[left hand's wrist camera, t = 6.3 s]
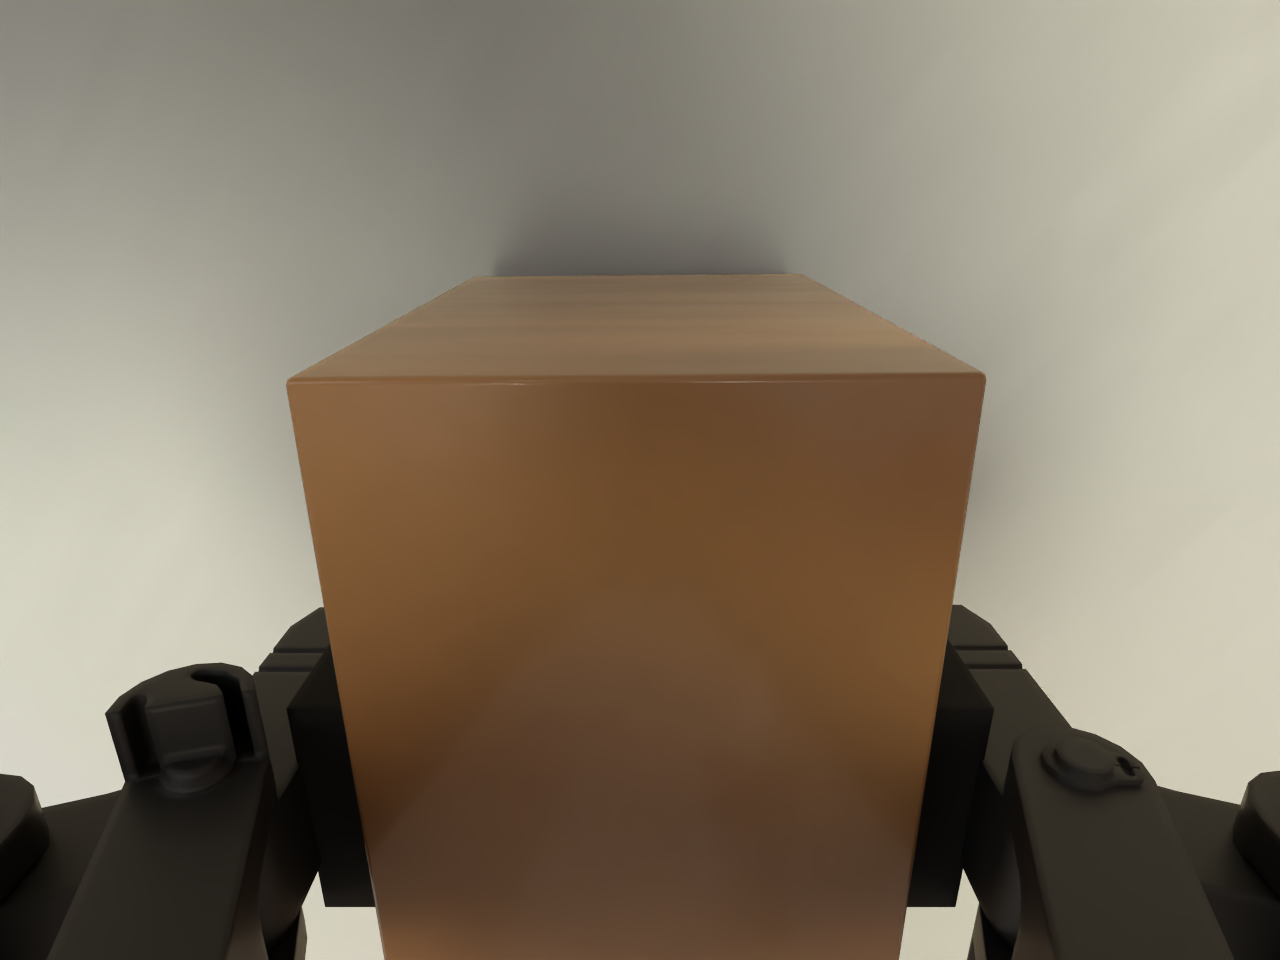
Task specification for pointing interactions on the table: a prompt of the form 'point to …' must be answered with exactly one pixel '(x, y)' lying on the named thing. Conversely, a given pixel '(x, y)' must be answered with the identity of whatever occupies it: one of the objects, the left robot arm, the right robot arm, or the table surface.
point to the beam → (638, 612)
